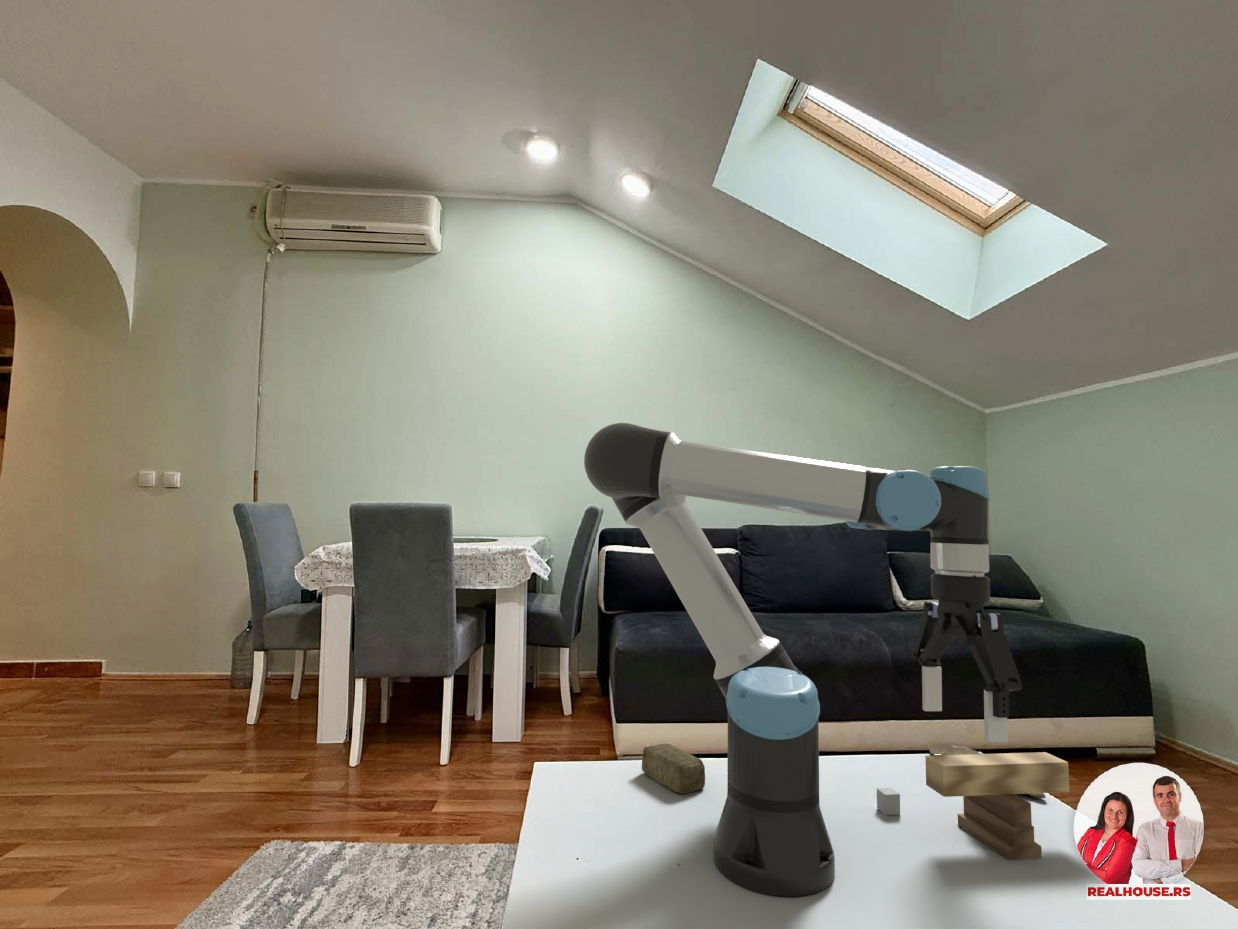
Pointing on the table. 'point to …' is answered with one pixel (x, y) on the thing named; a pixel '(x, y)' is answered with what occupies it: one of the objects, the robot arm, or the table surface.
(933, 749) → the stone tool
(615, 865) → the table surface
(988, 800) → the stepped block
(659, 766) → the stone block
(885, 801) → the gray blocks
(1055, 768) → the brass bar
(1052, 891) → the table surface
